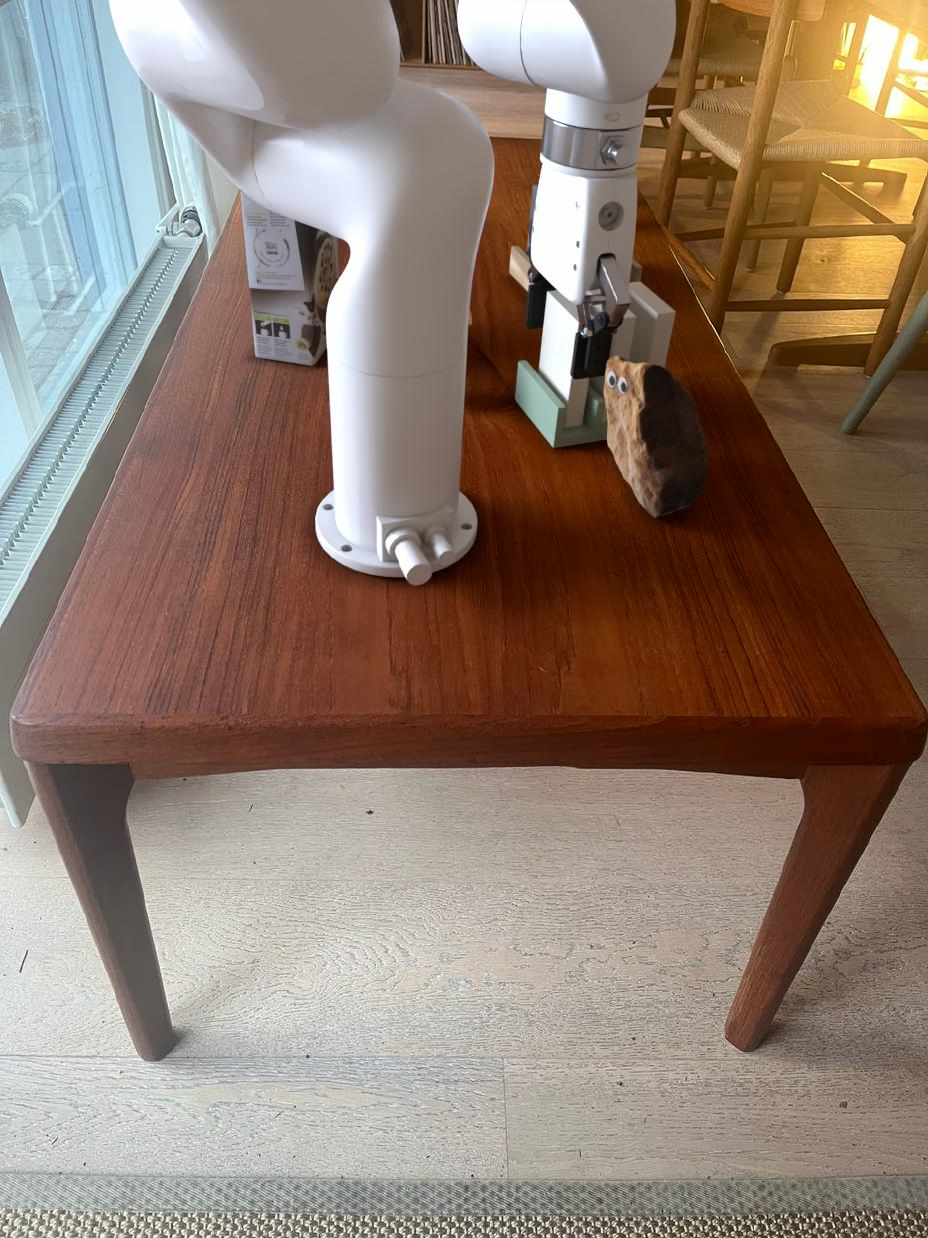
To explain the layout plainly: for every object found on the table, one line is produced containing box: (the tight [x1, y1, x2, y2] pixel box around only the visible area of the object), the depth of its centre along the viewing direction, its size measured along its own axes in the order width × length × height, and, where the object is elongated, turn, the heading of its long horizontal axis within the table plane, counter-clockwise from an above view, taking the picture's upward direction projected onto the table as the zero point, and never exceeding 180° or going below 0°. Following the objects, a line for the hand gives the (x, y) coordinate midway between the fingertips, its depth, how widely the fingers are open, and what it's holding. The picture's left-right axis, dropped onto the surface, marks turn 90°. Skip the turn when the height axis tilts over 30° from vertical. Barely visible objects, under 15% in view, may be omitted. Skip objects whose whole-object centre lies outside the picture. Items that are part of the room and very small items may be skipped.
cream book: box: [537, 290, 594, 428], centre depth 87 cm, size 2×6×10 cm, turn 20°
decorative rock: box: [604, 356, 709, 519], centre depth 79 cm, size 12×6×11 cm, turn 20°
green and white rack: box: [514, 281, 677, 449], centre depth 88 cm, size 12×9×11 cm
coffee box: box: [239, 189, 340, 367], centre depth 94 cm, size 9×6×16 cm
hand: (563, 350), depth 86 cm, fingers open, 9 cm apart
